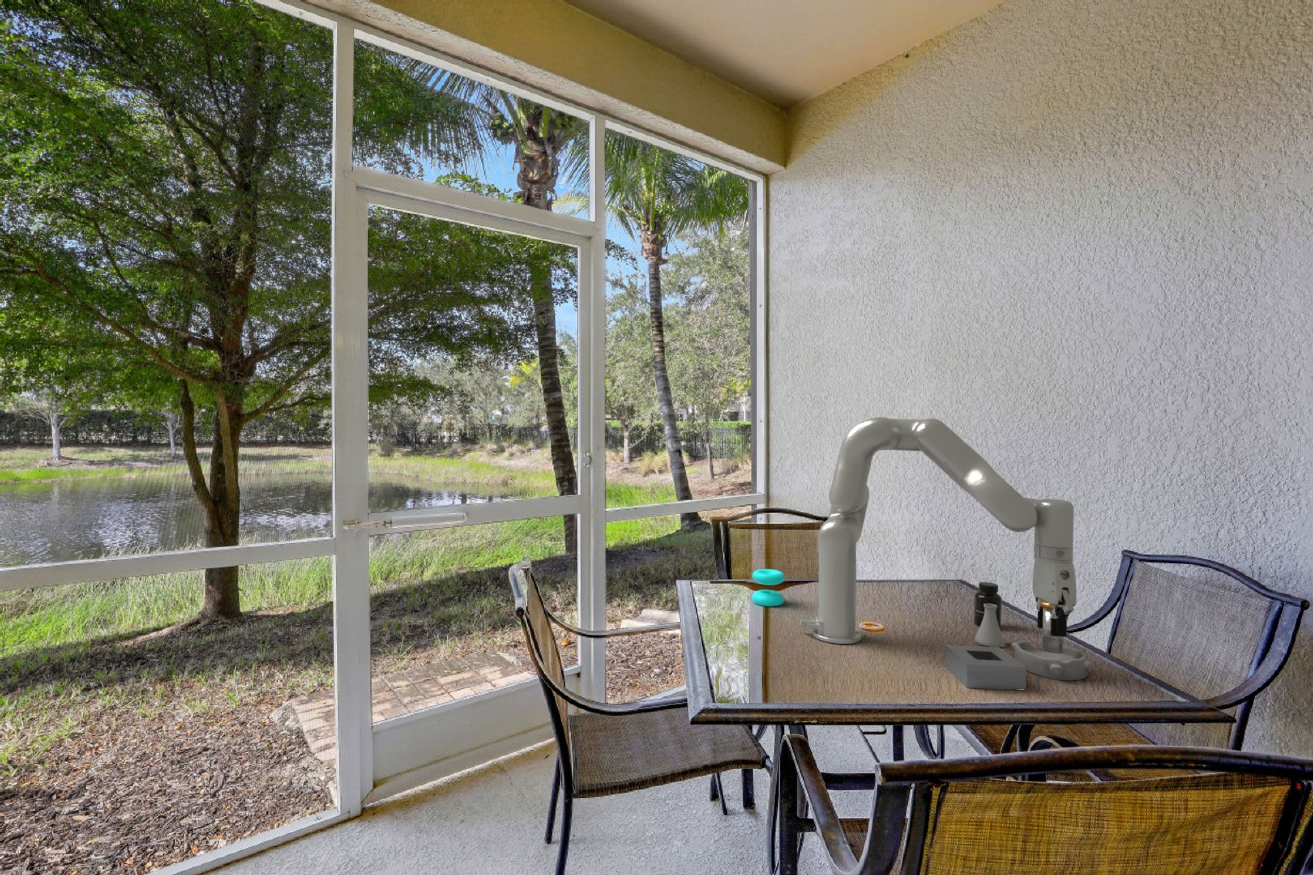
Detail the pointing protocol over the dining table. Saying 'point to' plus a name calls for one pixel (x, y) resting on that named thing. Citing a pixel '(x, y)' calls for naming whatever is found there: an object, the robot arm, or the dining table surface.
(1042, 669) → the dish
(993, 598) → the supplement bottle
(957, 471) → the robot arm
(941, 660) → the dining table surface
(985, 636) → the flask
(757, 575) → the donuts
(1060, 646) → the pin
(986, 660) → the gray square-hole block
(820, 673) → the dining table surface
